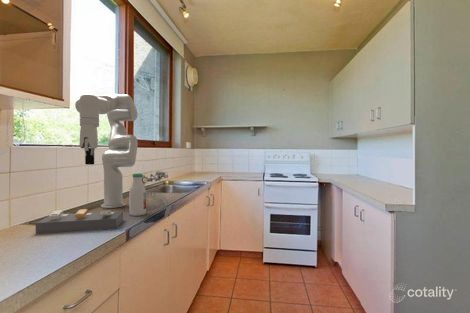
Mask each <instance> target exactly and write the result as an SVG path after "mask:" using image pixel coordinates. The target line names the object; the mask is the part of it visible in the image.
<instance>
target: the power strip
mask: <svg viewBox="0 0 470 313" xmlns="http://www.w3.org/2000/svg"><path fill="white" fill-rule="evenodd" d="M76 213H77V212H75V213H63V214H62V215H61V217H60V218H59V219H49V215H48V216H47V217H44V218H43V219H41V220H39V221H37V222H35V234H36V233H39V234H52V233H68V232H69V233H70V232H84V231H102V230H117V229H118V227H119V226H120V225H121V224H122V222H123V221H124V211H120V210H118V211H111V214H100V211H97V212H93V211H92V212H88V213H87V214H86V215H85V217H84V218H75V214H76Z"/></svg>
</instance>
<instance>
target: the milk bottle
mask: <svg viewBox="0 0 470 313" xmlns="http://www.w3.org/2000/svg"><path fill="white" fill-rule="evenodd" d="M143 176H144V175H143V173H132V182H131V185H130V187H129V196H128V198H129V199H128V201H129V203H128V204H129V205H128V207H129V208H128V209H129V211H128V212H129V214H128V215H130V216H132V217H133V216H134V217H138V216H144V215H146V214H147V191H146V186H145V185H144V182H143V178H144V177H143Z"/></svg>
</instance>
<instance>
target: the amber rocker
mask: <svg viewBox="0 0 470 313" xmlns="http://www.w3.org/2000/svg"><path fill="white" fill-rule="evenodd" d="M75 213H76V214H75V218H84V217H85V215H86V214H87V213H89V212H88V209H87V208H84V209H83V208H82V209H78V210H77V211H76V212H75Z"/></svg>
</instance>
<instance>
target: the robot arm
mask: <svg viewBox="0 0 470 313" xmlns="http://www.w3.org/2000/svg"><path fill="white" fill-rule="evenodd" d="M74 108H75V109H76V111H77V113H79V126H80V129H79V144H78V145H79V148H80V149H83V150H84V162H85V163H84V164H85V165H95V150H96V149H97V148H98V144H99V142H98V141H99V138H98V128H99V127H100V115H107V116H106V117H107V120H108V123H109V126H110V132H109V137H108V142H107V145H108V148H109V150H106V151H103V153H102V155H101V161H102V166H103V203H102V204H100V207H101V208H102V209H117V208H122V207H124V206H126V202H124V201H123V199H124V198H123V172H122V171H121V170H120V169H119V168H132V167H133V166H135V164H136V160H137V153H138V152H137V151H138V143H139V142H138V139H137V137H136V136H135V135H134V134H127V128H126V127H125V125H123V123H122V122H134V121H136V120H137V118H138V110H137V106H136V104H135V102H134V100H133V98H132V97H131V95H129V94H125V93H124V94H123V93H122V94H119V93H110V94H103V95H95V94H89V93H84V94H83V93H82V94H80V96H79V97H78V98H77V99H76V100H75V104H74Z"/></svg>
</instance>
